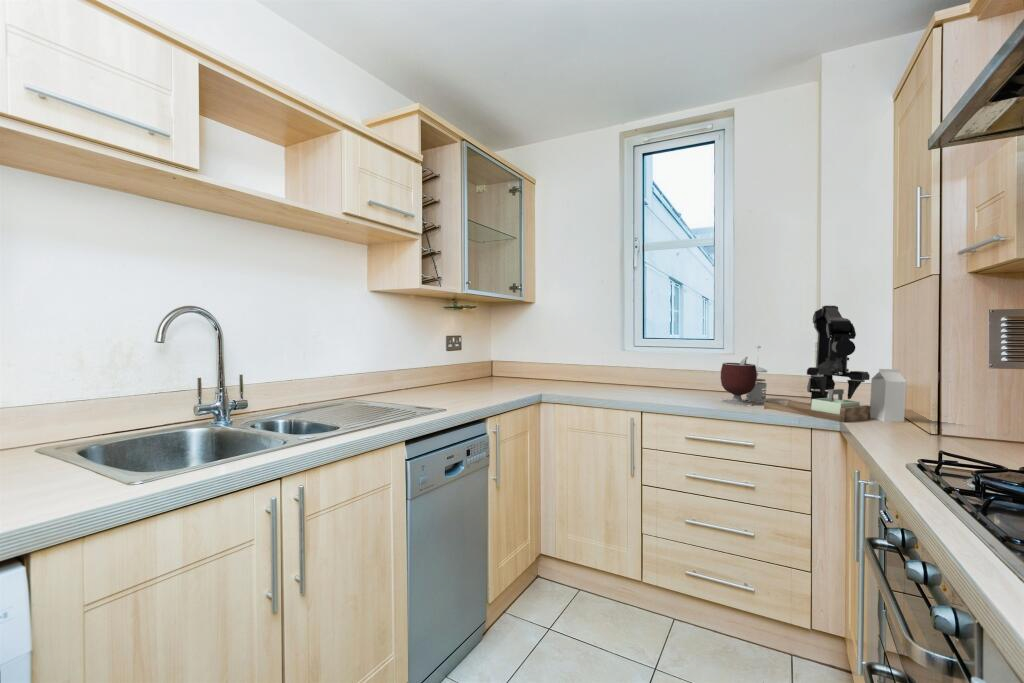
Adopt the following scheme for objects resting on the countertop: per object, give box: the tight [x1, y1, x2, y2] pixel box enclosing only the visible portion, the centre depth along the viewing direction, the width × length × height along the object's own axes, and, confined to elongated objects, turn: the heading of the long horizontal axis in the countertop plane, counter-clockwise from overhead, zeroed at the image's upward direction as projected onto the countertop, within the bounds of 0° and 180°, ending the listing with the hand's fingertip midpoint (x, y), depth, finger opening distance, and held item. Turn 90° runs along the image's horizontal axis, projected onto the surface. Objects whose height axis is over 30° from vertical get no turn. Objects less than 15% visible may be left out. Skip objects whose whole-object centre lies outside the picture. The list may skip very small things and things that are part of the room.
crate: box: [811, 388, 861, 414], centre depth 173 cm, size 12×10×10 cm
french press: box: [743, 344, 768, 403], centre depth 214 cm, size 10×12×25 cm
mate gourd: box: [720, 356, 758, 406], centre depth 204 cm, size 16×14×20 cm
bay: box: [763, 400, 871, 423], centre depth 180 cm, size 17×30×6 cm, turn 28°
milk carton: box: [869, 368, 907, 423], centre depth 171 cm, size 7×7×19 cm
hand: (835, 397), depth 173 cm, fingers open, 9 cm apart
